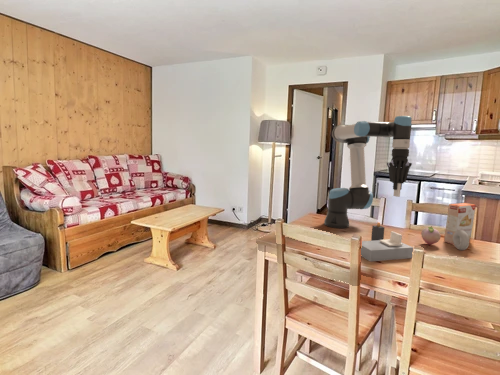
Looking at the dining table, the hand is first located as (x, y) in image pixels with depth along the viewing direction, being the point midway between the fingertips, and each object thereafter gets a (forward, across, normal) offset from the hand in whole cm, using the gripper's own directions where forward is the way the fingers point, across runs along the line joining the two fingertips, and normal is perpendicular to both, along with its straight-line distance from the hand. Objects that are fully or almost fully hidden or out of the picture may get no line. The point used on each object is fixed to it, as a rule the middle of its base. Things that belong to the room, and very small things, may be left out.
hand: (396, 196), depth 149 cm
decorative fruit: (+26, +21, -2) cm, 34 cm away
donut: (+26, +30, -11) cm, 41 cm away
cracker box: (+26, +40, -1) cm, 48 cm away
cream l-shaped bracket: (+21, -10, -10) cm, 25 cm away
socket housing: (+26, -14, -10) cm, 31 cm away
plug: (+26, -8, +2) cm, 27 cm away
